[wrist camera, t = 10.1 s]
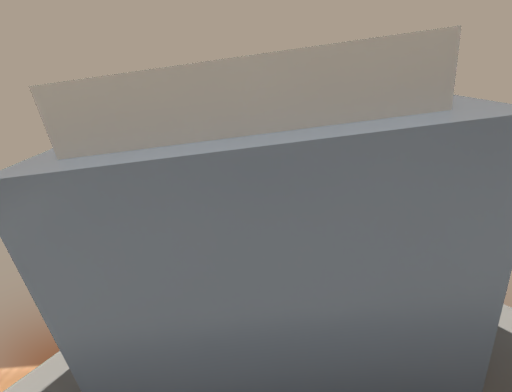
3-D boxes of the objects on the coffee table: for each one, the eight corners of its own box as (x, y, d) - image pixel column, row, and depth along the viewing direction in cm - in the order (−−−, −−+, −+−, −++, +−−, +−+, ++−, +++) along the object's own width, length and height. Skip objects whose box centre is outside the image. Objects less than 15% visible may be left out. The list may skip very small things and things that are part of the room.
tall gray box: (359, 376, 12) (361, 44, 8) (432, 601, 7) (574, 8, 2) (221, 388, 12) (141, 75, 8) (196, 610, 7) (-72, 99, 3)
